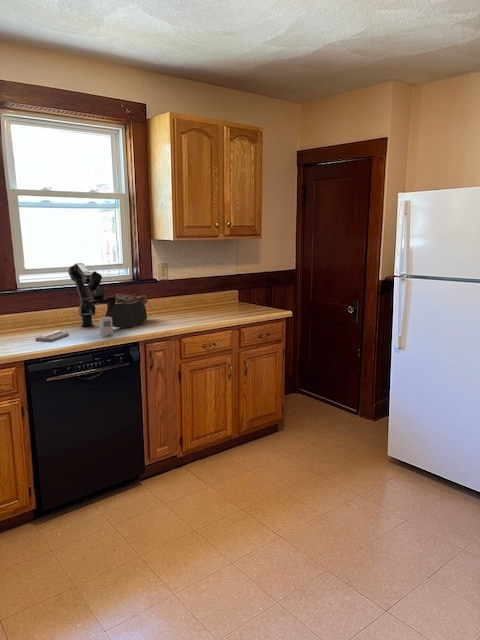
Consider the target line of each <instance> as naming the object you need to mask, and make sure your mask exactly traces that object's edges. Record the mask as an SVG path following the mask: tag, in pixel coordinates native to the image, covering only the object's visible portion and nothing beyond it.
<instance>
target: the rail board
mask: <svg viewBox="0 0 480 640" xmlns="http://www.w3.org/2000/svg"><path fill="white" fill-rule="evenodd" d="M69 335H70V333H69V332H63V330H61V329H60V330H56V331H51V332H49V333H46V334H43V335H38V336H36V337H35V341H38V342H55V341H58V340H61V339H63V338H67V337H69Z"/></svg>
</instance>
